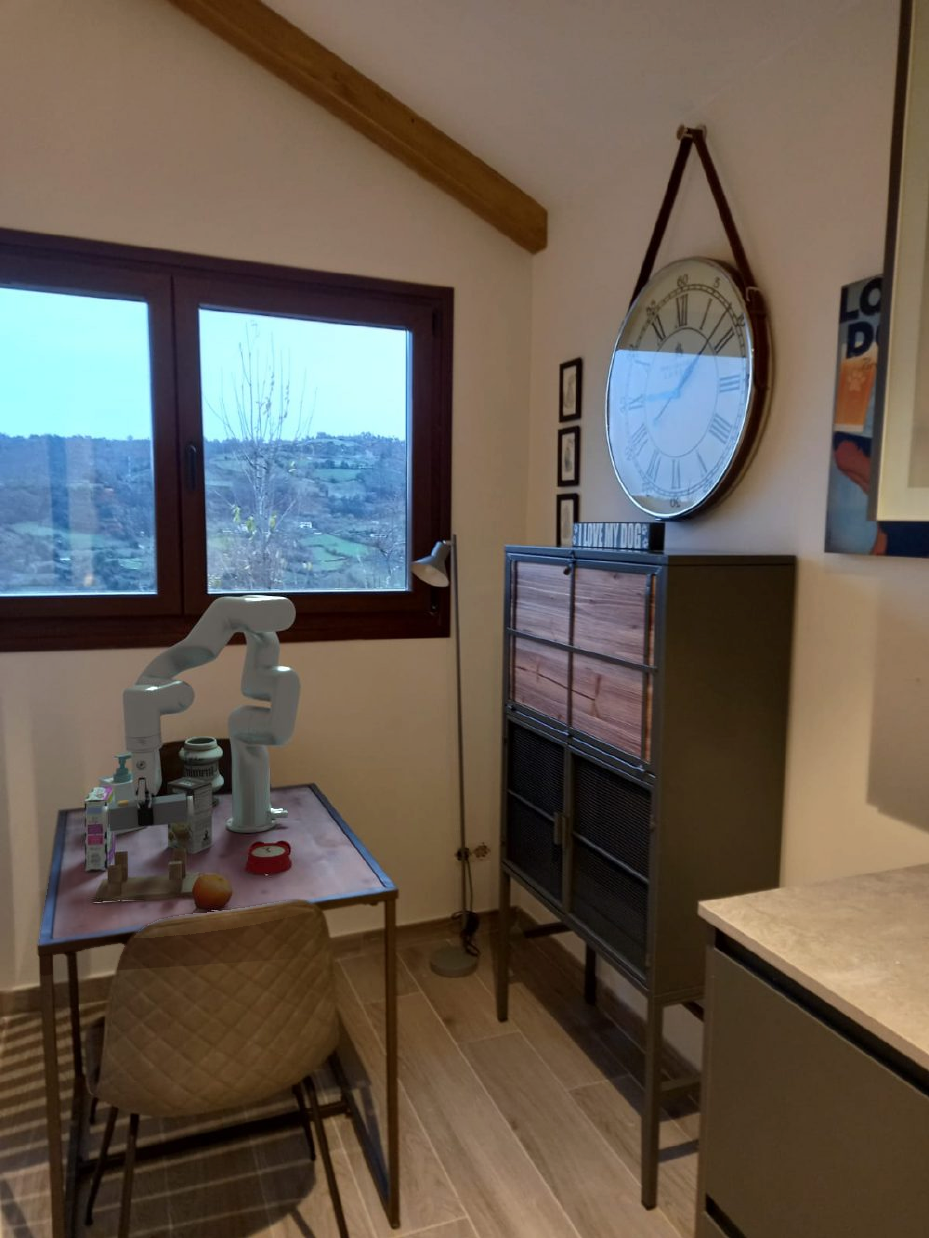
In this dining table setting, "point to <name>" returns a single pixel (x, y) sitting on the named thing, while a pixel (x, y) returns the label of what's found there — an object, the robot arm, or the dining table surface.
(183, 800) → the power strip
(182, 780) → the coffee box
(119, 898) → the rack
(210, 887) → the fruit
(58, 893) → the dining table surface
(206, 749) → the apothecary jar
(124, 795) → the soap bottle
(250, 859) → the alarm clock
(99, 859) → the candy bar box
